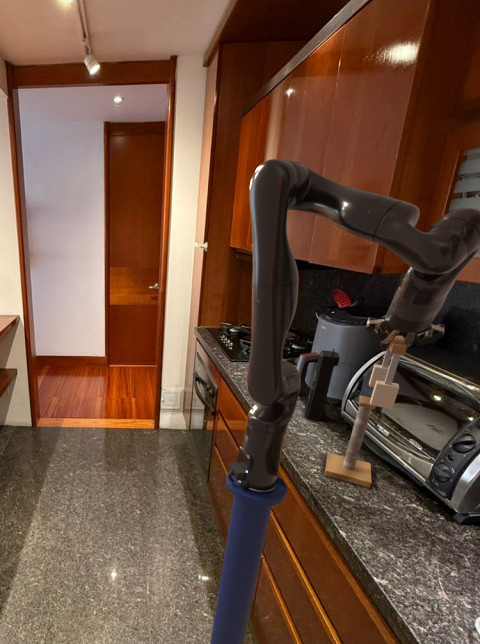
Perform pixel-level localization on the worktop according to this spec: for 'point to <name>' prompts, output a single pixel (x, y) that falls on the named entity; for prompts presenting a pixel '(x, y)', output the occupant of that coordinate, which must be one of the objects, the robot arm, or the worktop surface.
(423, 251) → the robot arm
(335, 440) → the worktop surface
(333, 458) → the headphone stand
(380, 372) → the brown blocky piece
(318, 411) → the portable radio
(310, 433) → the worktop surface
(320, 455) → the worktop surface
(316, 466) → the worktop surface
